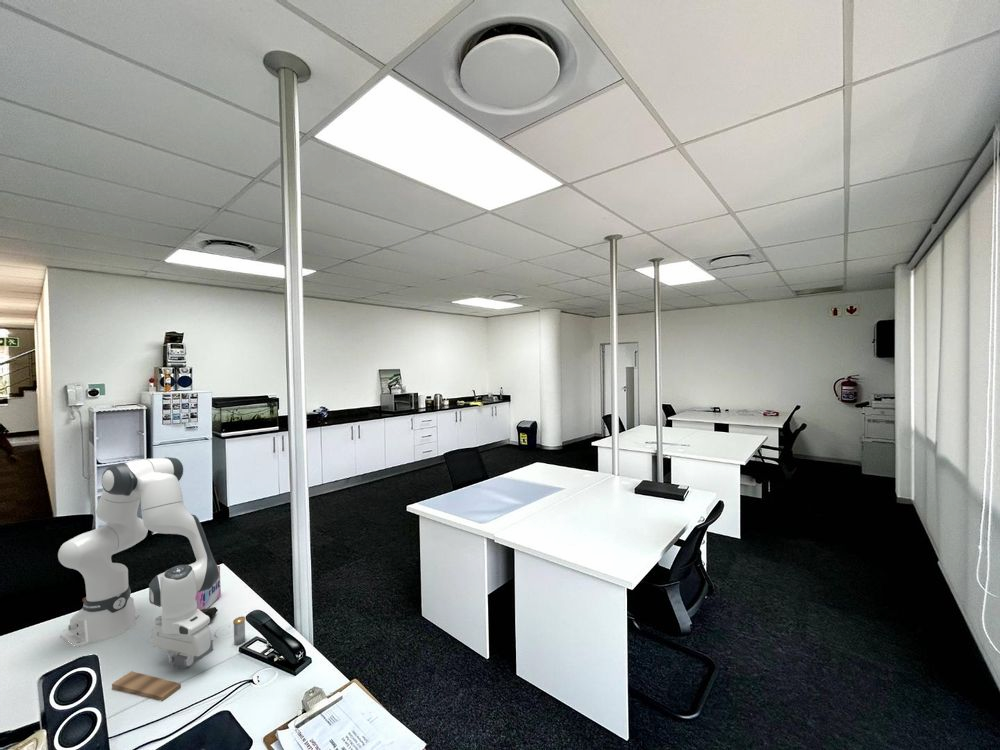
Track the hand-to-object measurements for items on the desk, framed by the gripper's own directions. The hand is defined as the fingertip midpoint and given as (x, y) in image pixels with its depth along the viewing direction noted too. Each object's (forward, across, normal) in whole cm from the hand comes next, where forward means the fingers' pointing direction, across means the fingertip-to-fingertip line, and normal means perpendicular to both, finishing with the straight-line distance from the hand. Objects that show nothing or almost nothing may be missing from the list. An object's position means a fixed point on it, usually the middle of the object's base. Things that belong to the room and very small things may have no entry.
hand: (181, 662), depth 126 cm
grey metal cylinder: (+2, +8, +14) cm, 16 cm away
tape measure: (+2, -13, +21) cm, 25 cm away
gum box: (+2, -26, +25) cm, 36 cm away
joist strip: (+2, -1, -9) cm, 10 cm away
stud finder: (+2, 0, +4) cm, 5 cm away
